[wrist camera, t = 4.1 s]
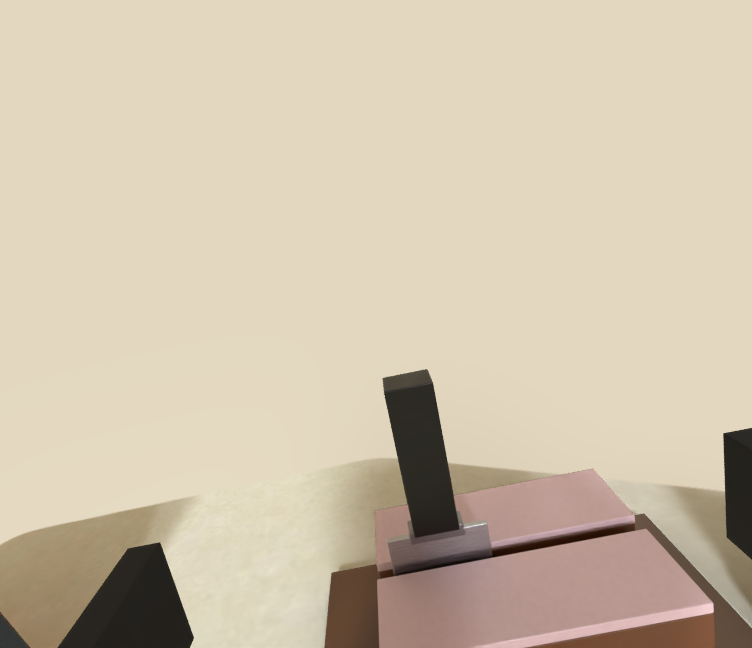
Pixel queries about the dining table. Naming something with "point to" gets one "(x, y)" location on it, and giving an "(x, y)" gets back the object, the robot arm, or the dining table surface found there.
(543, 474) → the dining table surface
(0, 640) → the gift bag
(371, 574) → the cake board
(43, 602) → the dining table surface
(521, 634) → the cake
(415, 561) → the dark upright knife handle
